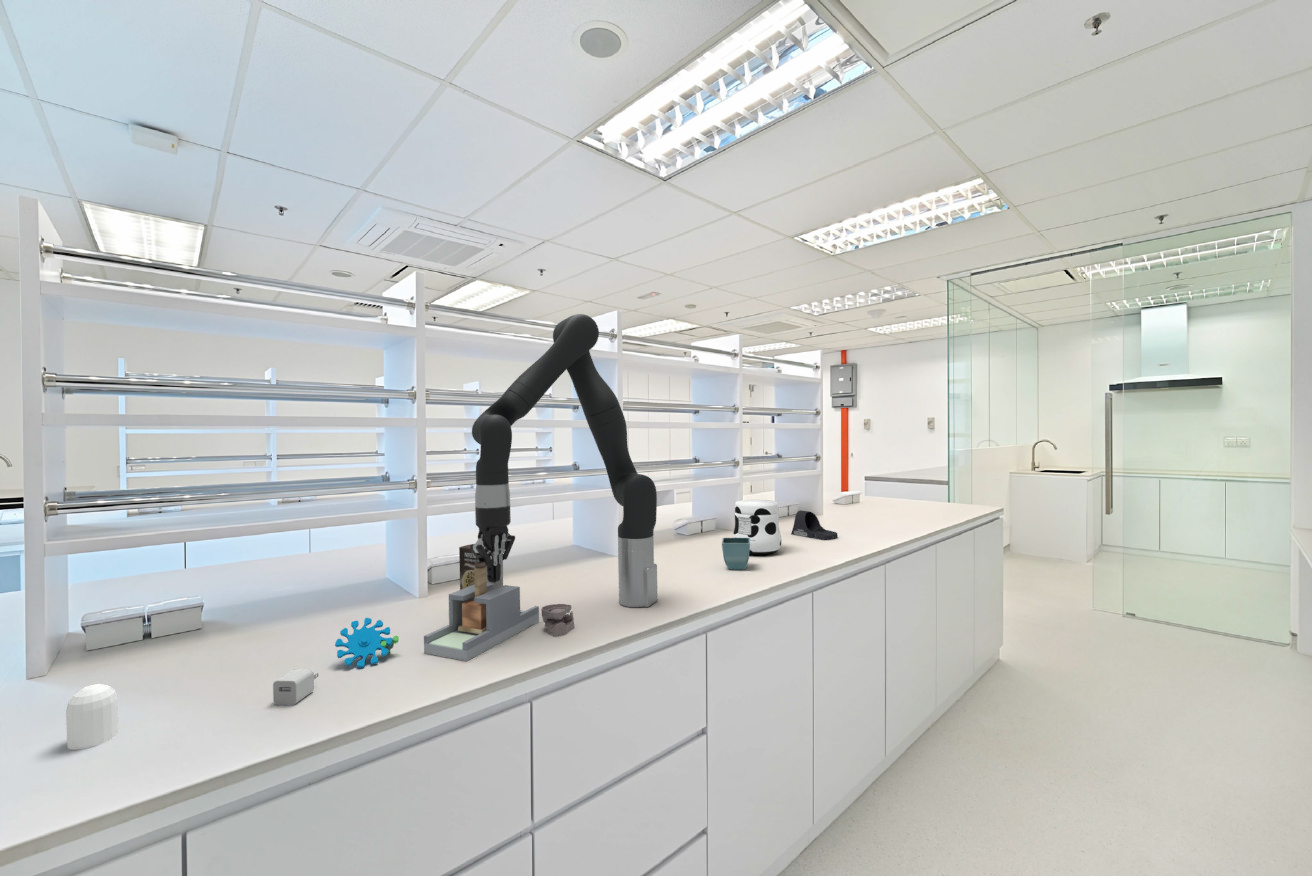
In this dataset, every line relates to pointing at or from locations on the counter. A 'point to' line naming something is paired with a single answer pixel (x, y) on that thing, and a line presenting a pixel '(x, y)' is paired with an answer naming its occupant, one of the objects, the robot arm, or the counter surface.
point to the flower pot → (736, 552)
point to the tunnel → (499, 622)
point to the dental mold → (557, 619)
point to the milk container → (758, 525)
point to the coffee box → (472, 569)
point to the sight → (811, 527)
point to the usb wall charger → (293, 687)
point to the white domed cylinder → (92, 717)
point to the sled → (475, 604)
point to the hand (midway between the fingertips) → (494, 581)
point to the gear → (365, 642)
